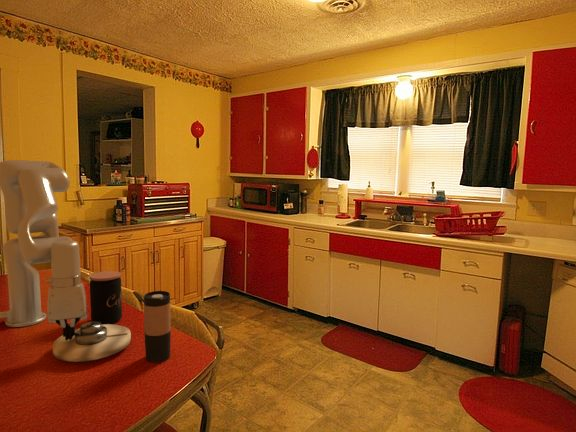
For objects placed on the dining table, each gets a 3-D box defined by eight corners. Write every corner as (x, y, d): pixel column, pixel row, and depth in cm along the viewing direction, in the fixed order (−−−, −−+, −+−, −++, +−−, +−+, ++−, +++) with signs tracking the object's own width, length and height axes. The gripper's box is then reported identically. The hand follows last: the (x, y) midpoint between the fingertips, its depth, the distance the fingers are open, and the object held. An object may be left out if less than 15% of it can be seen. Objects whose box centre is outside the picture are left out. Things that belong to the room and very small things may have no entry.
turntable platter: (45, 366, 105) (44, 359, 105) (60, 334, 125) (60, 328, 125) (130, 354, 113) (129, 348, 113) (131, 326, 134) (131, 320, 133)
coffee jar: (110, 327, 136) (108, 279, 134) (84, 324, 138) (82, 277, 136) (128, 316, 147) (126, 272, 145) (104, 314, 149) (102, 270, 147)
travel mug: (149, 351, 119) (147, 290, 117) (173, 351, 120) (172, 290, 117) (141, 363, 111) (140, 298, 109) (167, 363, 112) (167, 298, 110)
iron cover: (72, 347, 113) (71, 332, 112) (78, 334, 122) (78, 321, 121) (104, 343, 116) (104, 329, 115) (109, 331, 124) (108, 318, 124)
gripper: (34, 286, 108) (38, 347, 110) (92, 282, 114) (94, 340, 116) (41, 279, 115) (44, 336, 117) (95, 275, 120) (97, 330, 123)
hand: (69, 338), depth 116 cm, fingers closed
